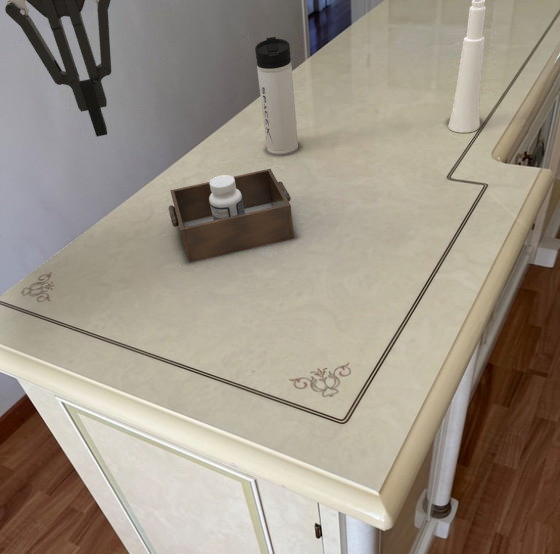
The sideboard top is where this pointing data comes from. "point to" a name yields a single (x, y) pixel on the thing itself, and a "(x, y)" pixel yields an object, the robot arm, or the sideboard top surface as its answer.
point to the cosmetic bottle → (470, 74)
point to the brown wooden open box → (233, 217)
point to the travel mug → (277, 96)
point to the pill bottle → (225, 198)
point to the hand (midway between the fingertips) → (101, 131)
